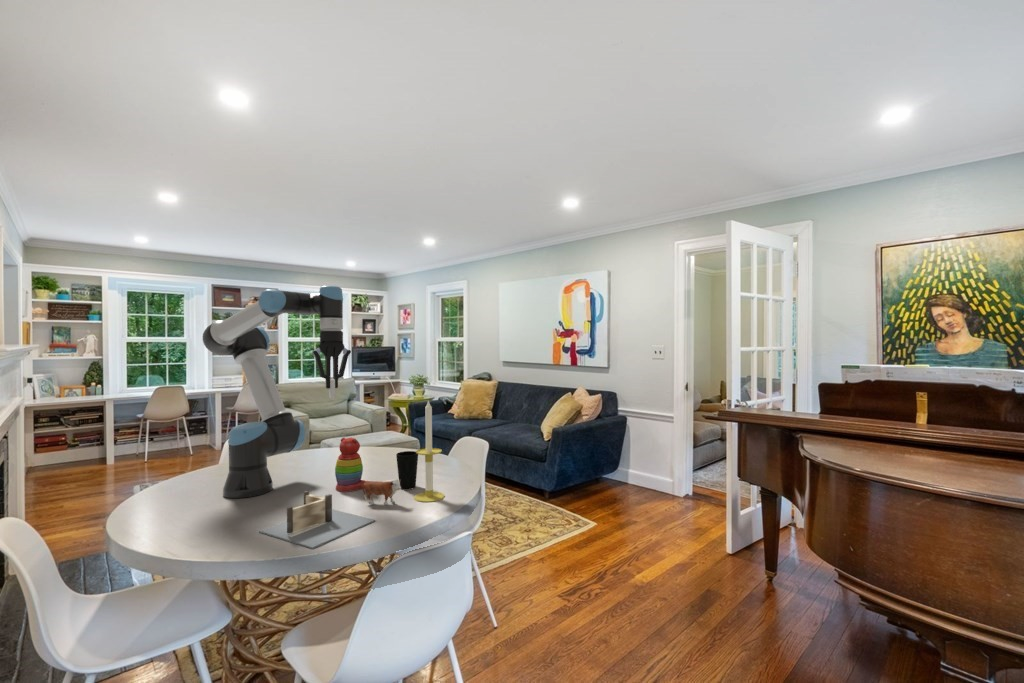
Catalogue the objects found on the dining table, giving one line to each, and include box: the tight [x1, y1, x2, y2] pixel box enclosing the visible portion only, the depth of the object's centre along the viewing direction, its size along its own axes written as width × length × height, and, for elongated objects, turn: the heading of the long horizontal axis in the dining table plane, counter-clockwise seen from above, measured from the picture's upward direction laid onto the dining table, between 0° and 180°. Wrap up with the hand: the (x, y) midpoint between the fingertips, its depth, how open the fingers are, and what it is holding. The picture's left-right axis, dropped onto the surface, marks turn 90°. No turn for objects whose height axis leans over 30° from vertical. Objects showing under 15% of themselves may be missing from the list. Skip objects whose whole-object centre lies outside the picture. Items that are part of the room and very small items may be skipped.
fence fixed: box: [303, 490, 333, 522], centre depth 138 cm, size 11×2×7 cm, turn 60°
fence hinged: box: [286, 499, 325, 533], centre depth 130 cm, size 11×1×7 cm, turn 144°
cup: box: [395, 450, 419, 490], centre depth 168 cm, size 8×8×12 cm
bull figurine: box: [362, 478, 402, 506], centre depth 151 cm, size 4×13×8 cm, turn 78°
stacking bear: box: [334, 437, 366, 493], centre depth 168 cm, size 11×10×18 cm
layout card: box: [258, 508, 376, 550], centre depth 132 cm, size 22×21×1 cm
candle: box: [413, 399, 445, 503], centre depth 157 cm, size 10×10×32 cm
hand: (332, 397), depth 165 cm, fingers closed
